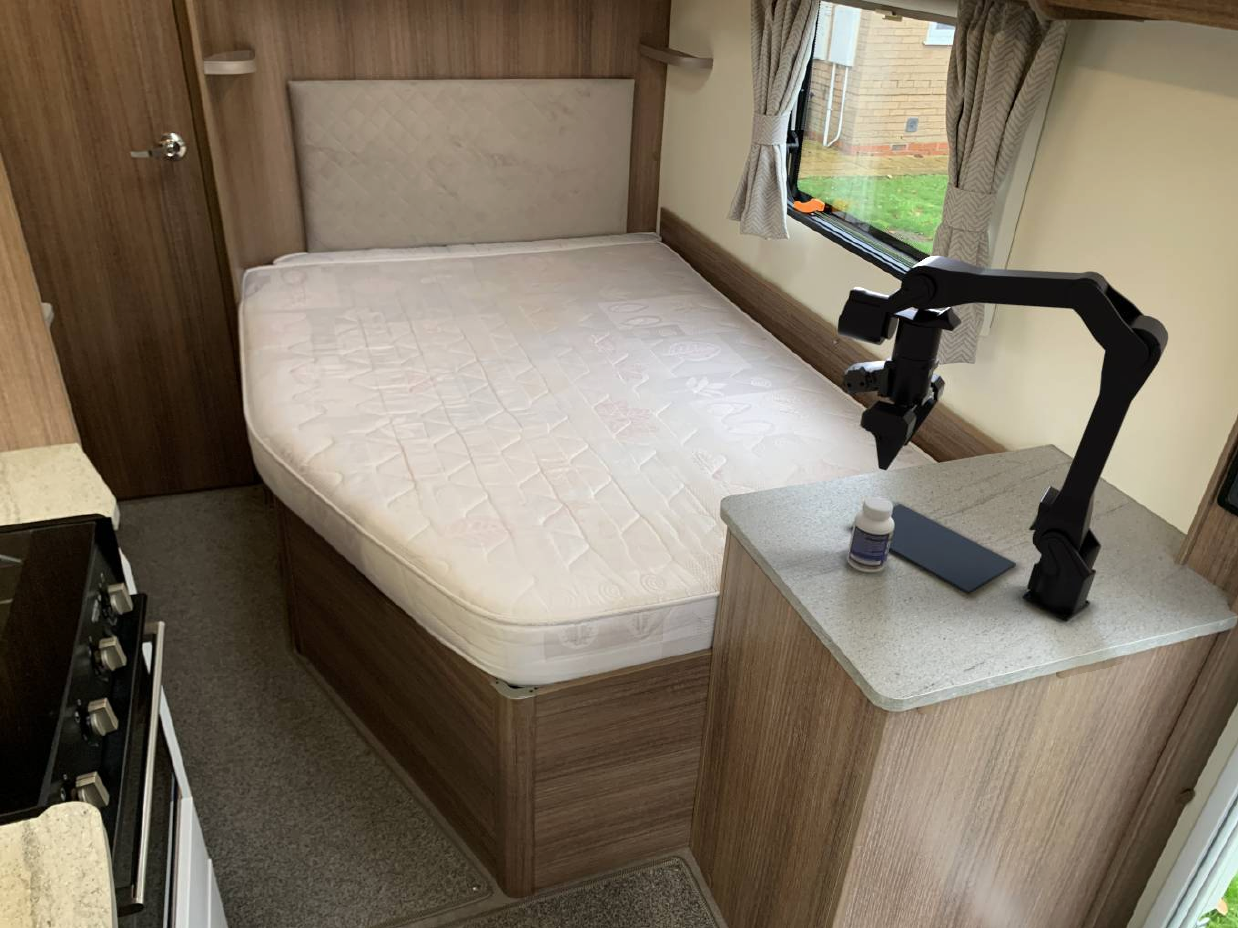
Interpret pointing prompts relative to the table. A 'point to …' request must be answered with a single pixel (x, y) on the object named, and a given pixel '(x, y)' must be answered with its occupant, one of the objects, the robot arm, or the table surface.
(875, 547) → the pill bottle
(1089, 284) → the robot arm
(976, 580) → the rubber mat
